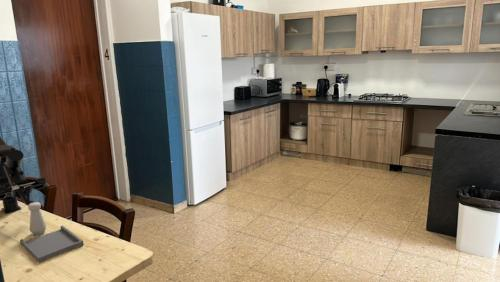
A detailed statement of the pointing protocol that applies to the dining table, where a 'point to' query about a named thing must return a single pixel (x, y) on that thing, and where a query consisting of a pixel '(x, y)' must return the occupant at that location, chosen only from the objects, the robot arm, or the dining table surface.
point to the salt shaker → (36, 219)
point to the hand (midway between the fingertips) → (28, 205)
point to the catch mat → (52, 244)
